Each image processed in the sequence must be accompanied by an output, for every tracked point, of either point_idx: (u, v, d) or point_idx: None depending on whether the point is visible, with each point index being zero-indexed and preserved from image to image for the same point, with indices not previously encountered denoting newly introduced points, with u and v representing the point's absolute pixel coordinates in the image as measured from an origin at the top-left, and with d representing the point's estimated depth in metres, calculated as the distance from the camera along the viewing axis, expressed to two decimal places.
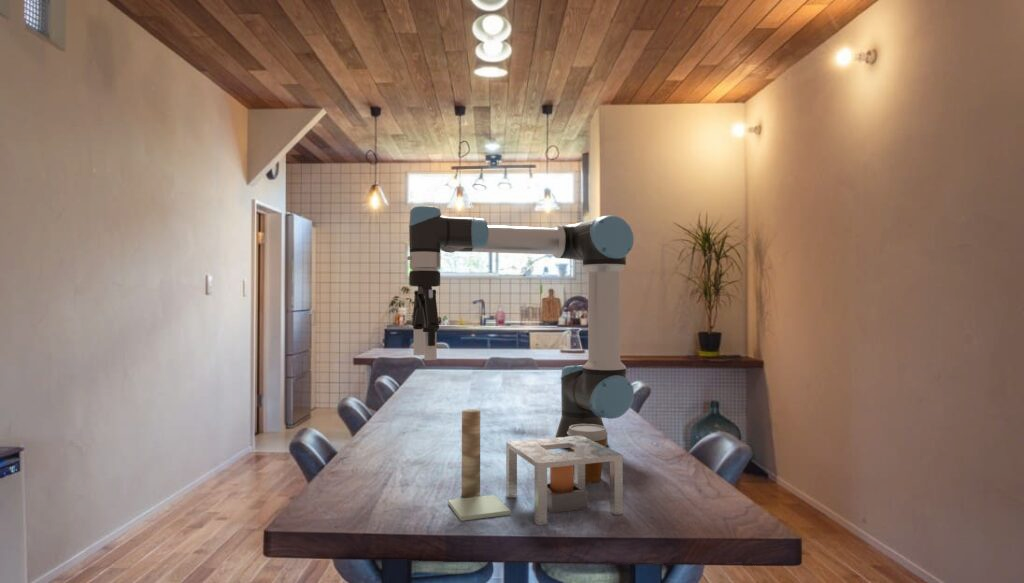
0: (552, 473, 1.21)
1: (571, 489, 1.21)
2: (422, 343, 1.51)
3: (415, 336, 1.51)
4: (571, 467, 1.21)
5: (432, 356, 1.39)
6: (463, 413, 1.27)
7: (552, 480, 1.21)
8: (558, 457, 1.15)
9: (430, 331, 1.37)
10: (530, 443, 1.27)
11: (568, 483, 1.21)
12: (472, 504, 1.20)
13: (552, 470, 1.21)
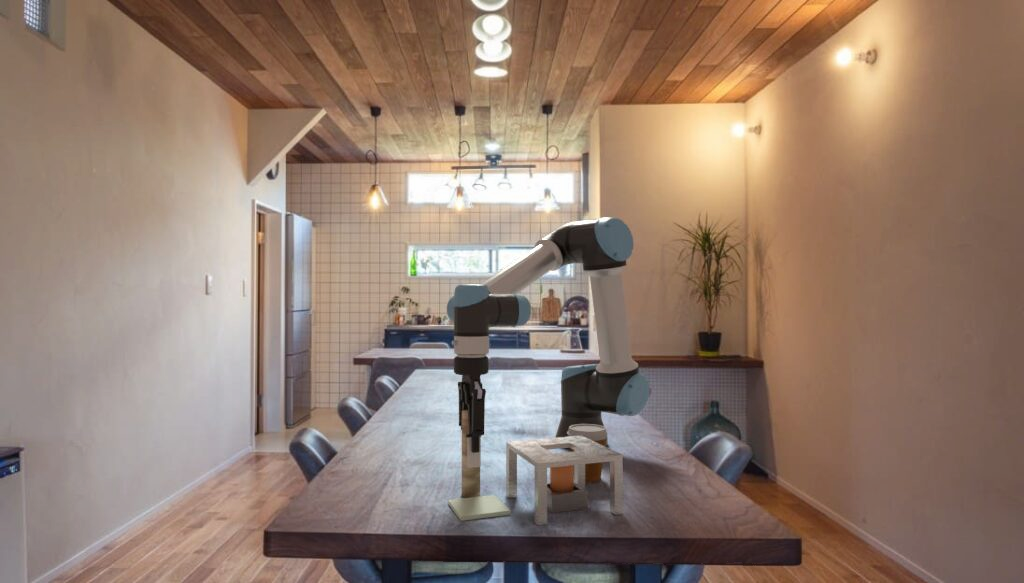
0: (552, 473, 1.21)
1: (571, 489, 1.21)
2: None
3: None
4: (571, 467, 1.21)
5: (476, 463, 1.26)
6: (463, 413, 1.27)
7: (552, 480, 1.21)
8: (558, 457, 1.15)
9: (474, 437, 1.25)
10: (530, 443, 1.27)
11: (568, 483, 1.21)
12: (472, 504, 1.20)
13: (552, 470, 1.21)
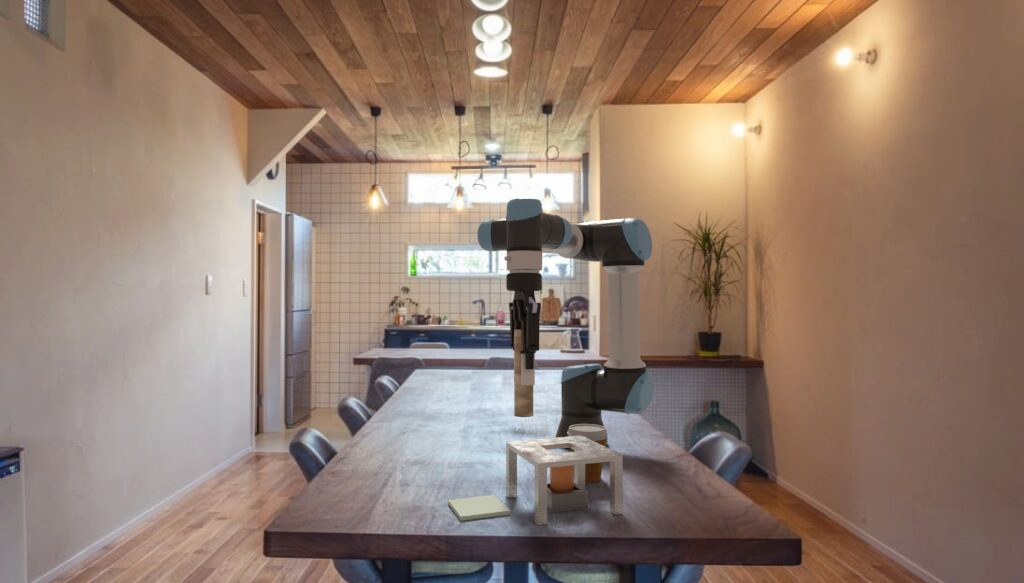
0: (552, 473, 1.21)
1: (571, 489, 1.21)
2: None
3: None
4: (571, 467, 1.21)
5: (530, 381, 1.23)
6: (516, 331, 1.24)
7: (552, 480, 1.21)
8: (558, 457, 1.15)
9: (529, 353, 1.21)
10: (530, 443, 1.27)
11: (568, 483, 1.21)
12: (472, 504, 1.20)
13: (552, 470, 1.21)
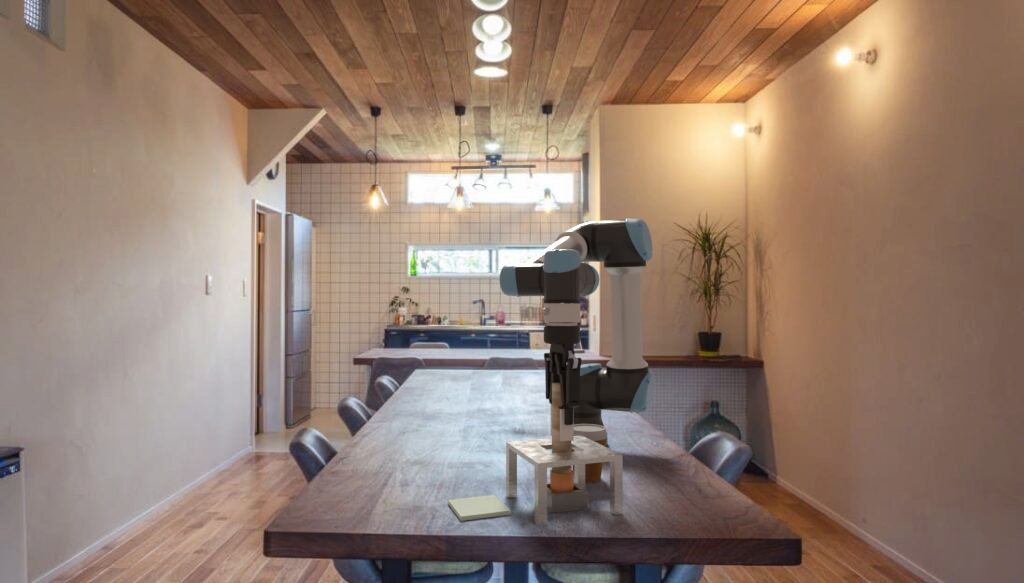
0: (552, 484, 1.21)
1: None
2: None
3: None
4: (571, 478, 1.21)
5: (569, 436, 1.20)
6: (554, 385, 1.22)
7: None
8: (558, 457, 1.15)
9: (568, 408, 1.19)
10: (530, 443, 1.27)
11: None
12: (472, 504, 1.20)
13: (552, 481, 1.21)
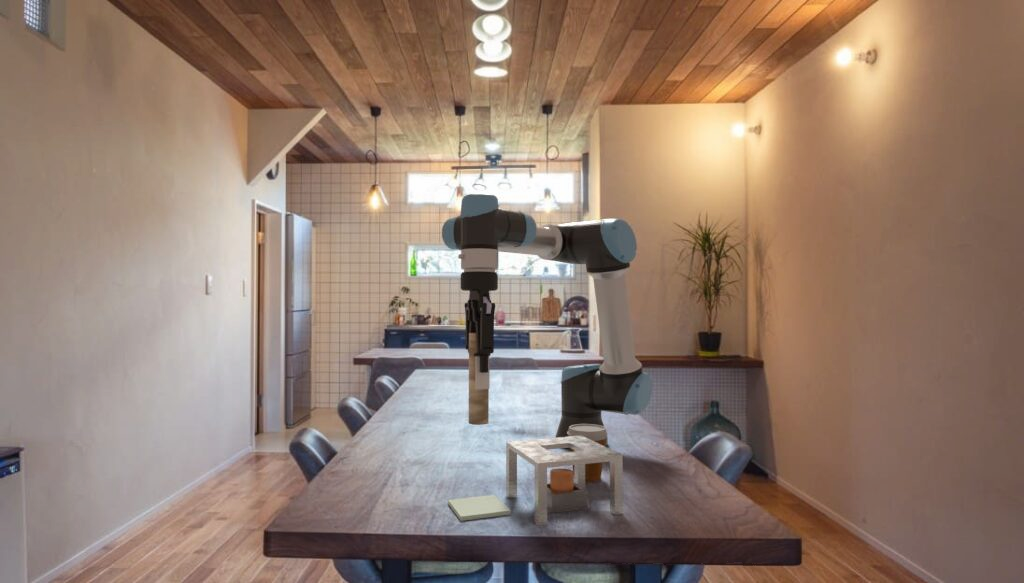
0: (552, 485, 1.21)
1: None
2: None
3: None
4: (571, 479, 1.21)
5: (484, 384, 1.18)
6: (470, 334, 1.19)
7: None
8: (558, 457, 1.15)
9: (483, 355, 1.16)
10: (530, 443, 1.27)
11: None
12: (472, 504, 1.20)
13: (552, 482, 1.21)
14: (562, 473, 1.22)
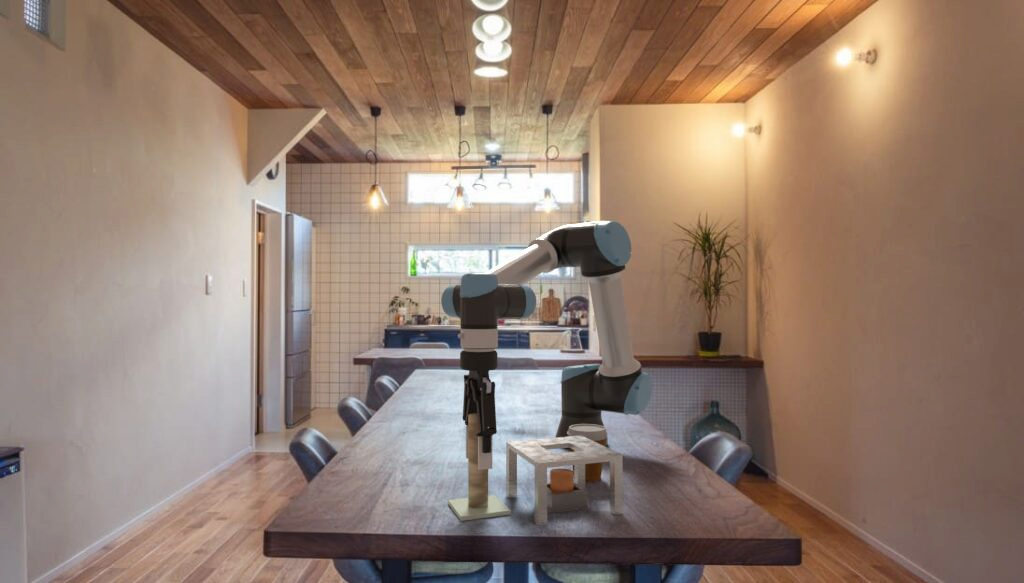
0: (552, 485, 1.21)
1: None
2: None
3: None
4: (571, 479, 1.21)
5: (487, 464, 1.15)
6: (470, 417, 1.19)
7: None
8: (558, 457, 1.15)
9: (485, 436, 1.14)
10: (530, 443, 1.27)
11: None
12: None
13: (552, 482, 1.21)
14: (562, 473, 1.22)
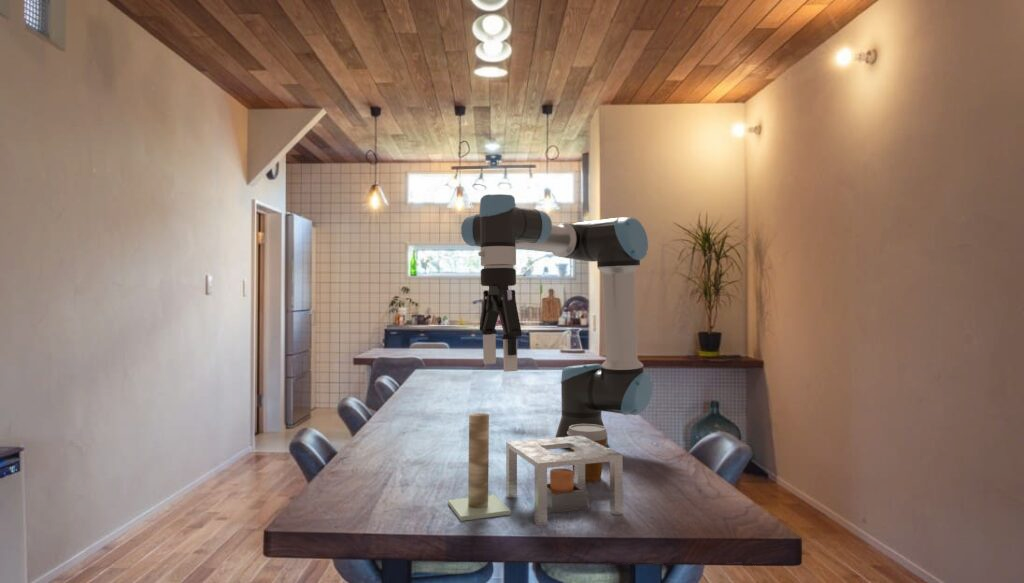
0: (552, 485, 1.21)
1: None
2: (493, 350, 1.33)
3: (485, 342, 1.32)
4: (571, 479, 1.21)
5: (513, 367, 1.20)
6: (470, 417, 1.19)
7: None
8: (558, 457, 1.15)
9: (511, 338, 1.19)
10: (530, 443, 1.27)
11: None
12: None
13: (552, 482, 1.21)
14: (562, 473, 1.22)
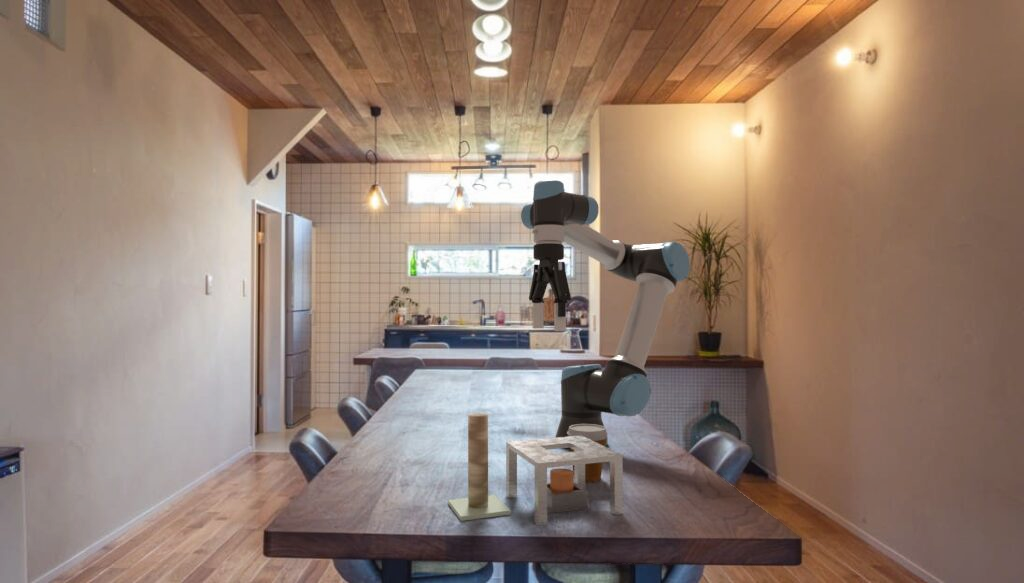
0: (552, 485, 1.21)
1: None
2: (541, 317, 1.53)
3: (535, 310, 1.53)
4: (571, 479, 1.21)
5: (562, 327, 1.41)
6: (469, 417, 1.19)
7: None
8: (558, 457, 1.15)
9: (561, 302, 1.39)
10: (530, 443, 1.27)
11: None
12: None
13: (552, 482, 1.21)
14: (562, 473, 1.22)
